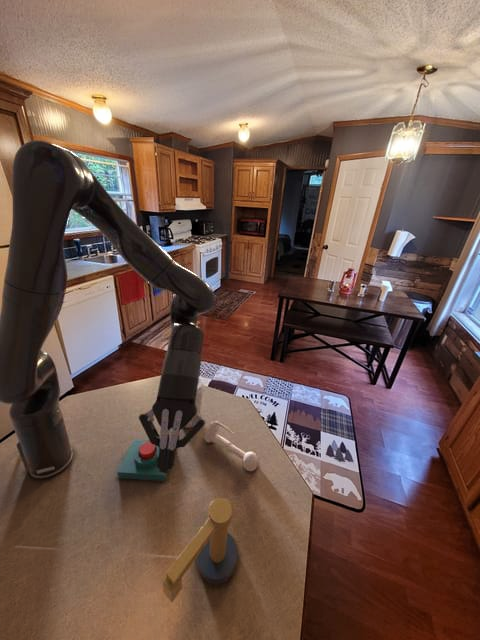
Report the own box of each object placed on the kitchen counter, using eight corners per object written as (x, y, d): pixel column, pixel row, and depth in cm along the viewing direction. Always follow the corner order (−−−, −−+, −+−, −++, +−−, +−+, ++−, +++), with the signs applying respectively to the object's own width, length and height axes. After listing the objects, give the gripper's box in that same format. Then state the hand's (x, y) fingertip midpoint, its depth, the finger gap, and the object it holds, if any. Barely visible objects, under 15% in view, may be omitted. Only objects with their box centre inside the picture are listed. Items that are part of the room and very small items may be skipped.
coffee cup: (169, 418, 84) (167, 381, 79) (193, 405, 91) (193, 370, 85) (184, 436, 78) (183, 398, 72) (209, 421, 84) (210, 385, 78)
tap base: (194, 583, 48) (194, 544, 43) (200, 533, 55) (201, 495, 50) (236, 586, 48) (241, 547, 43) (237, 536, 55) (241, 498, 50)
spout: (218, 508, 50) (219, 493, 48) (235, 523, 48) (236, 508, 46) (158, 585, 39) (156, 569, 37) (176, 609, 37) (175, 593, 35)
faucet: (245, 482, 71) (258, 465, 66) (200, 437, 77) (209, 419, 71) (252, 471, 74) (266, 454, 69) (209, 429, 80) (218, 411, 75)
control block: (118, 478, 65) (116, 467, 63) (134, 445, 74) (132, 435, 73) (165, 481, 65) (164, 470, 63) (175, 447, 74) (174, 437, 73)
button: (137, 458, 66) (136, 454, 66) (143, 445, 70) (142, 441, 69) (152, 459, 66) (152, 455, 66) (157, 446, 70) (157, 442, 69)
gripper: (142, 369, 48) (119, 473, 42) (212, 376, 48) (198, 481, 42) (153, 373, 55) (135, 463, 49) (213, 379, 55) (202, 469, 49)
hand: (164, 471), depth 46 cm, fingers closed
